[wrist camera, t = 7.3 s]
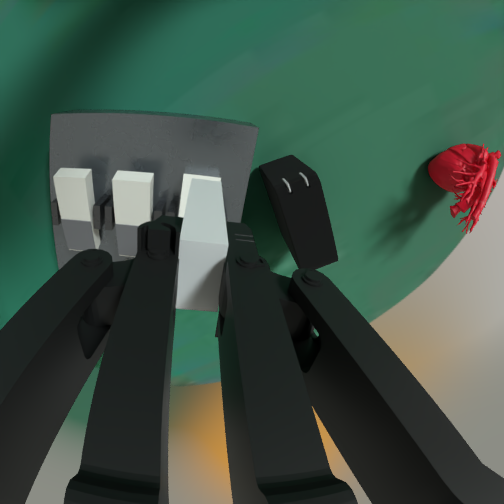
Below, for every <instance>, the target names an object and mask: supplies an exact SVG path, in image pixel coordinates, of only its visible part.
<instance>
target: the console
mask: <svg viewBox="0 0 504 504" xmlns="http://www.w3.org/2000/svg"><path fill="white" fill-rule="evenodd" d="M258 130H259V128H258V127H257V126H255V125H253V124H252V123H248V122H242V121H235V120H229V119H222V118H214V117H206V116H198V115H189V114H179V113H167V112H153V111H135V110H72V111H66V112H61V113H55V114H51V126H50V195H51V210H52V221H53V231H54V239H55V247H56V254H57V261H58V267H59V270H60V269H61V268H62V267H63V266H64V265H65V264H66V263H67V262H68V261H69V260H70V259H71V258H73V257H74V256H75V255H76V254H78V253H79V252H81V251H76V250H69V249H68V246H67V242H66V239H65V235H64V231H63V226H62V222H61V215H60V211H59V206H58V201H57V196H56V191H55V185H54V179H53V176H54V175H55V174H56V173H57V171H58V170H59V169H60V168H80V169H91V170H92V181H93V191H94V200H95V204H94V205H93V216H94V229H99V235H100V241H101V243H100V245H99V248H98V249H101V250H104V251H107V252H109V253H110V255H111V256H112V261H113V262H116V261H125V260H130V259H133V258H135V257H129V256H120V255H119V252H118V244H117V236H116V227H115V213H114V201H113V186H112V179H113V177H114V175H115V174H116V172H117V170H119V171H133V172H146V173H154V182H153V221H155V220H156V219H157V218H158V217H160V216H161V215H164V216H174V217H178V216H179V207H180V199H181V191H182V183H183V176H184V174H193V175H202V176H210V177H218V178H221V184H222V193H223V202H224V211H225V219H226V221H228V222H237V223H241V217H242V212H243V207H244V201H245V196H246V191H247V186H248V181H249V175H250V170H251V165H252V160H253V155H254V150H255V145H256V140H257V135H258Z"/></svg>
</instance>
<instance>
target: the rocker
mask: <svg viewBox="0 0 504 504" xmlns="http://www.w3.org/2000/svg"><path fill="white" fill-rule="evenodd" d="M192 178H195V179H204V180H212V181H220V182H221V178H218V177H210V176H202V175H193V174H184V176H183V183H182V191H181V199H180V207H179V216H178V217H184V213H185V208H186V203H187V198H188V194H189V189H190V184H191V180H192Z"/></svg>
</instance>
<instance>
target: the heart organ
mask: <svg viewBox="0 0 504 504" xmlns="http://www.w3.org/2000/svg"><path fill="white" fill-rule="evenodd" d="M487 149H488V148H487ZM487 149H484V144H483V147H482V146H478V145H472V144H460V145H455V146H453V147H450V148H448V149H447V150H446V151H444V152H442V153H440V154H439V155H437V156H436V157H435V158H434V159H433V160H432V161H431V162H430V164H429V165H428V172H429V175H430V177H431V178H432V180H433V181H434V182H435V183H436V184H437V185H438V186H440V187H441V188H443V189H445V190H447V191H449V192H454V193H455V194H456V193H460V192H461V191H463V192H464V191H465V192H464V193H461V194H459V195H462V197H460V196H458V195H457V194H456V195H457V196H456V195H455V196H456V197H458V198H456V199H457V200H458V199H460V202H458V203H456V205H454V206H450V210H451V215H452V217H453V218H455V216H456V215H457V214H458V213H459V212H460V211H462V212H463V213H465V212H466V211H467V210H468V209H469V208H470V207H471V210H470V213H469V215H468V216H466V217H464V218H460V219H463V220H461V222H462V221H464V220H465V221H466V223H467V221H469V222H468V224H467V225H466V227H467V230H468V225H469V223H470V221H471V219H472V220H473V225H472V227H471V229H470V232H471V231H472V229H473V228H474V226H475V225H476V223H477V221H479V215H480V214H481V211H482V209H483V207H485V205H486V201H487V199H488V198H489V197H488V196H489V194H490V192H492V191H491V187H492V185H493V189H494V188H495V186H496V181H495V179H494V177H495V173H496V169H497V165H498V163H499V162H498V160H497V159H499V158H500V156H501V154H500V151H497V152H495V153H494V152H492V153H488V151H487ZM496 158H497V159H496ZM496 180H497V179H496ZM475 206H476V208H475ZM474 208H475V209H474ZM461 222H460V223H461ZM460 223H459V224H460ZM466 223H465V224H466ZM466 227H465V228H464V229H463V230H462V232H463V231H464V230H465V229H466ZM467 230H466V234H467Z"/></svg>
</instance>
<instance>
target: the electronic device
mask: <svg viewBox="0 0 504 504" xmlns="http://www.w3.org/2000/svg"><path fill="white" fill-rule="evenodd" d="M259 169H260V173H261V175H262V178H263V181H264V184H265V187H266V190H267V193H268V195H269V198H270V201H271V204H272V207H273V210H274V213H275V216H276V219H277V222H278V225H279V228H280V231H281V233H282V236H283V238H284V240H285V242H286V244H287V246H288V248H289V250H290V252H291V254H292V256H293V258H294V260H295V262H296V264H297V266H298V268H299V269H301V268H306V269H313V270H315V269H318V268H321V267H323V266H326V265H328V264H331V263H334V262H336V261H338V255H337V250H336V246H335V241H334V236H333V232H332V227H331V223H330V219H329V215H328V210H327V206H326V202H325V198H324V194H323V190H322V186H321V183H320V180H319V177H318V175H317V174H316V172H315V171H313V170H312V169H311V168H310V167H308V166H307V165H306V164H304V163H303V162H301V161H300V160H299V159H297V158H296V157H295V156H293V155H289V156H286V157H283V158H280V159H277V160H274V161H271V162H268V163H266V164H263V165H260V166H259Z"/></svg>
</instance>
